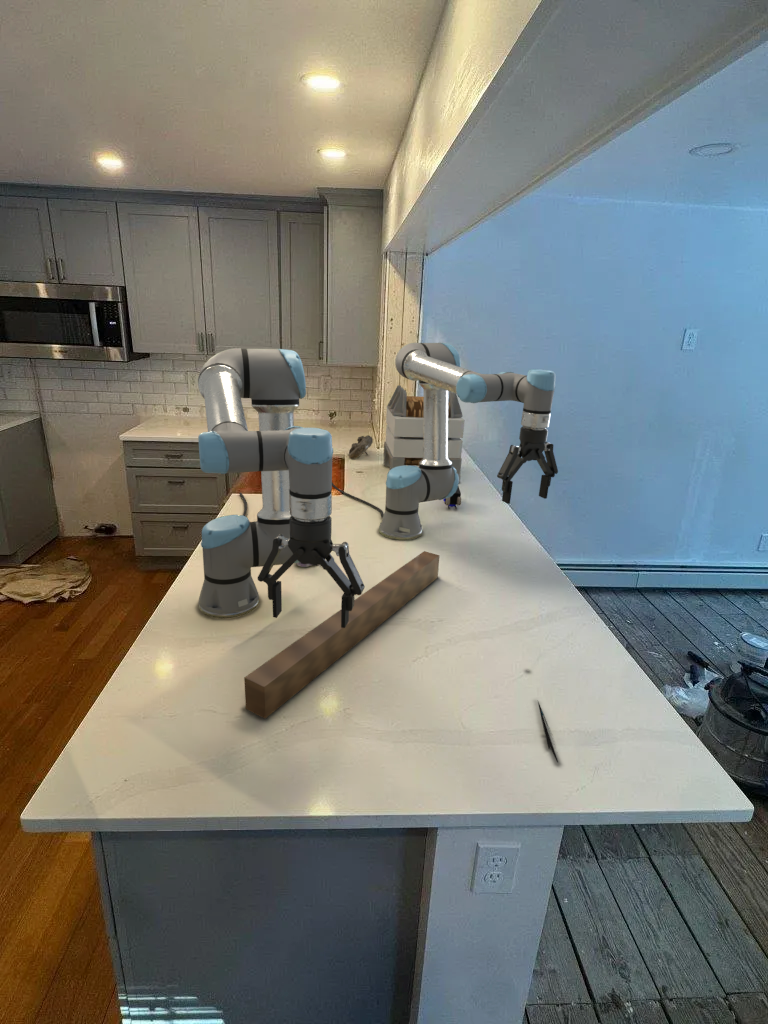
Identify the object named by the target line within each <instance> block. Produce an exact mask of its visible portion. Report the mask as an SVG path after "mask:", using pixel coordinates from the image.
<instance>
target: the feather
mask: <svg viewBox="0 0 768 1024" xmlns="http://www.w3.org/2000/svg"><path fill="white" fill-rule="evenodd" d="M528 671H530V670H529V669H527V672H528ZM537 705H538V708H539V712H540V713H539V714H540V718H541V719H540V720H541V722H542V728H543V731H544V735H545V740H546V743H547V747H548V749H551V752H552V754H553V756H554V759H555V760H556V762H557V763H559V761H558V758H557V755H556V751H555V749H554V746H556V741H554V743H553V742H552V740H555V739H554V735H553V733H552V732H549V730H551V728H550V727H549V723H548V721H547V719H546V717H545V714H544V711H543V708H542V707H541V705H540V702H539V701H537ZM553 745H554V746H553Z"/></svg>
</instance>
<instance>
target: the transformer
mask: <svg viewBox="0 0 768 1024" xmlns="http://www.w3.org/2000/svg"><path fill="white" fill-rule="evenodd" d="M407 394H408V393H407V390H406V389H404V388H403V387H402V385H399V384H398V385H397V386H396V388H395V390H394V392H393V394H392V395H391V398H390V400H389V402H388V404H387V405H386V413H385V414H386V415H385V423H386V428H385V438H384V442H383V466H384V467H388V468H389V471H390V470H391V469H392V468H395V467H398V466H404V465H406V466H408V465H412V466H417V467H419V462H420V461H421V460H422V459H423V413H424V396H415V395H414V396H413V395H412V396H411V395H407ZM464 429H465V419H464V418H463V411H462V408H461V405H460V402H459V397H458V396H457V394H455V393H452V392H449V391H448V459H449V460H450V461H451V462H452V467H454V468H455V469H456V471H457V474H458V477H459V483H461V472H462V461H463V460H462V453H463V442H464V441H463V440H462V439H463V438H464V431H465V430H464Z"/></svg>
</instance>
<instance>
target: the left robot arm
mask: <svg viewBox="0 0 768 1024" xmlns="http://www.w3.org/2000/svg"><path fill="white" fill-rule="evenodd" d="M197 386H198V390H199V394H200V396H201V397H202V399H204V407H205V408H204V409H205V417H206V427H207V431H203V432H201V433H200V434H199V435H198V438H197V441H198V453H199V467H200V471H201V472H203V473H205V474H221V475H225V474H235V473H237V474H238V473H254V472H260V476H261V479H260V480H261V496H262V497H261V498H262V499H261V500H262V508H260V509H259V511H258V512H257V514H256V521H250V520H249V518H248V517H247V513H248V503H247V500H246V497H245V496H244V495H243V493H242V492H239V496H240V498H241V499H242V501H243V506H244V510H243V513H242V515H241V514H240V515H238V514H229V515H224V516H223V515H222V516H220V517H217V518H213V519H212V520H209V521H208V522H207V523H206V524H204V526H203V527H202V529H201V542H200V547H201V548H202V563H203V564H202V565H203V577H204V578H203V582H202V586H201V590H200V593H199V596H198V609H199V611H200V612H201V613H202V614H204V615H205V616H208V617H210V618H214V619H234V618H239V617H243V616H245V615H248V614H250V613H251V612H253V611H255V610H256V609H257V608H258V606H259V604H260V595H259V591H258V588H257V586H256V584H255V581H254V579H253V577H252V568H259V567H260V568H261V567H262V568H261V570H260V572H259V574H258V576H257V581H259V582H261V583H262V582H263V583H265V584H266V585H267V599H268V600H271V601H272V618H274V619H275V618H276V619H277V618H278V617H279V616H280V614H281V613H282V612H283V604H282V603H283V602H282V600H283V599H282V596H283V595H282V581H281V580H279V579H280V578H281V577H282V576H283V574H285V573H286V572H287V570H288V569H290V568H291V567H292V566H293V565H294V564H297V563H299V562H301V564H311V565H313V566H315V567H317V566H320V567H321V568H322V569H323V570H325V571H326V572H327V573H328V574H329V576H330V577H331V578H332V579H333V581H334V582H335V584H336V585H337V586H338V587H339V588H340V589H341V591H342V592H343V594H342V596H341V608H340V610H341V628H345V627H346V625H347V623H348V621H349V611H352V609H353V607H354V600H355V596H356V595H357V596H361V595H362V594H363V591H364V590H365V587H366V586H365V584H364V582H363V579H362V577H361V575H360V573H359V571H358V569H357V566H356V564H355V562H354V561H353V558H352V556H351V554H350V547H349V543H348V542H347V541H343V542H342V543H334V542H333V540H332V522H333V521H332V516H331V515H332V513H333V511H332V510H333V507H332V505H333V503H332V502H333V498H332V497H333V493H332V492H333V491H332V489H333V486H332V483H333V455H334V448H333V438H332V437H333V436H332V434H331V432H330V431H328V430H327V429H323V428H318V427H303V426H299V425H295V419H294V418H295V417H294V413H295V411H296V410H297V409H298V408H299V407H300V400H302V399H304V398H305V397H306V394H307V391H306V390H307V389H306V388H307V383H306V375H305V369H304V365H303V361H302V359H301V357H300V355H299V353H298V352H296V351H295V350H293V349H285V348H284V349H283V348H241V347H236V348H229V349H225V350H222V351H220V352H217V353H216V354H215V355H212V356H211V357H210V358H209V359H208V360H206V362H205V363H204V364H203V366H202V367H201V368H200V371H199V374H198V378H197ZM242 399H250V400H251V401H250V402H251V407H252V408H253V409H254V410H255V411H256V412H257V414H258V430H249V429H248V423H247V419H246V416H245V411H244V406H243V403H242V402H243V401H242ZM332 552H334V553H335V555H336V556H337V557H338V558H339V561H340V564H341V566H342V568H343V570H344V572H343V570H342V569H341V568H340V566H339V565H338V564H337V562H336V561H335V558H334V556H333V555H332V554H331V553H332ZM274 566H279V568H277V570H276V571H275V572H273V574H270V572H271V570H272V569H273V567H274Z"/></svg>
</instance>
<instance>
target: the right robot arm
mask: <svg viewBox="0 0 768 1024" xmlns="http://www.w3.org/2000/svg"><path fill="white" fill-rule="evenodd" d="M461 362H462V361H461V357H460V354H459V351H458V350H457V349H456V347H455V346H454V345H453V344H450V343H445V342H411V343H407V344H405V345H403V346H402V347H401V348H400V349H399V350H398V351H397V353H396V355H395V360H394V364H395V365H394V366H395V369H396V371H397V373H398V374H399V375H400V376H401V377H403V378H404V379H407V380H410V381H412V382H418V385H419V386H420V387H421V388H422V389H423V397H424V413H423V459H422V460H421V461H420V462H419V466H412V465H408V466H407V465H404V466H398V467H395V468H392V469H391V470H390V469H389V470H388V472H387V475H386V479H385V504H384V505H385V507H384V508H385V509H384V511H383V509H381V508H380V507H378V506H376V505H374V504H372V503H370V502H368V501H366V500H365V499H362V498H359V497H357V496H354V495H352V494H349V493H348V492H346V491H344V490H342V489H340V488H339V487H337V485H335V484H334V482H332V488H333V489H335V490H336V491H338V492H339V493H341V494H342V495H345V496H346V497H349V498H350V499H351V498H352V499H354V500H356V501H358V502H359V503H362V504H364V505H367V506H369V507H372V508H373V509H375V510H377V512H379V513H380V516H381V522H379V525H378V533H379V534H380V535H381V536H382V537H385V538H387V539H389V540H395V541H410V540H415V539H418V538H420V537H421V536H422V535H423V525H422V524H421V518H420V515H419V507H420V506H419V505H420V503H426V502H432V501H433V502H434V501H442V500H443V499H445V498H449V497H451V496H452V495H453V494H454V493H455V492H456V490H457V488H458V486H459V483H460V482H459V477H458V474H457V471H456V469H455V468H454V467H452V462H451V461H450V460H449V459H448V391H449V392H452V393H455V394H456V395H457V398H458V399H459V401H461V402H463V403H465V404H466V403H467V404H468V403H470V404H477V403H489V402H490V403H491V402H509V401H512V402H518V403H522V404H523V407H522V413H521V421H520V425H521V427H520V430H519V438H518V439H519V445H514V444H510V446H509V450H508V453H507V455H506V457H505V459H504V461H503V463H502V465H501V466H500V468H499V470H498V472H497V475H496V477H497V478H498V479H501V480H502V482H501V483H502V484H501V491H502V496H501V497H502V498H501V501H502V502H503V503H505V504H507V505H509V504H511V498H512V491H513V482H514V481H512V479H513V478H514V476H515V475H516V474H517V473H518V472H519V470H520V469H521V467H522V466H523V465H524V464H526V463H527V462H530V461H536V463H537V464H538V466H539V467H540V469H541V470H542V473H543V474H541V478H540V484H539V490H538V491H539V492H538V497H540V498H542V499H544V500H545V499H547V500H548V493H549V487H550V486H551V483H552V482H551V481H552V478H554V477H555V476H556V475H557V474H558V473H559V470H558V465H557V461H556V457H555V453H554V444H553V443H551V442H548V435H549V430H548V428H549V427H550V421H551V413H552V408H553V407H552V406H553V399H554V395H555V390H556V377H557V376H556V375H557V374H556V373H555V371H553V370H548V369H538V368H537V369H536V368H535V369H534V368H533V369H529V370H528V371H527V375H526V374H519V373H516V372H514V371H513V372H512V371H501V372H499V373H479V372H476V371H474V370H471V369H468V368H464V367H462V365H461V364H462V363H461Z"/></svg>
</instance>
